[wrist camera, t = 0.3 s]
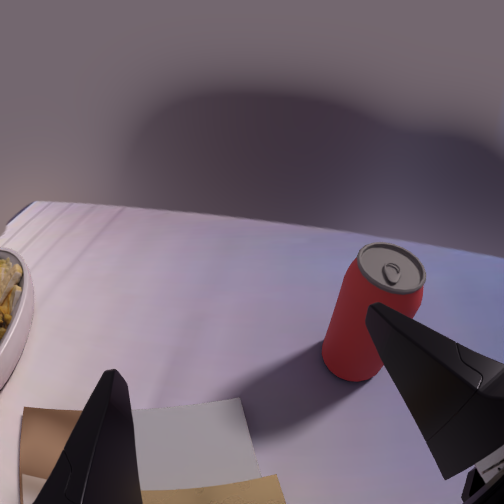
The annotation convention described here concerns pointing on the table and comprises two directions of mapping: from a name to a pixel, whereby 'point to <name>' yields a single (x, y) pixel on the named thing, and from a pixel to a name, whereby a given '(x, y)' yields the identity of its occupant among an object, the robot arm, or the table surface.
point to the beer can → (360, 297)
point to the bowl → (14, 309)
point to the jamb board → (194, 446)
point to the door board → (42, 446)
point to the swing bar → (221, 493)
